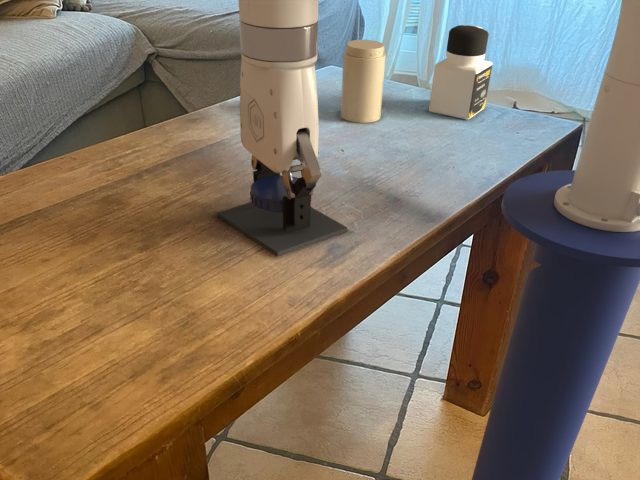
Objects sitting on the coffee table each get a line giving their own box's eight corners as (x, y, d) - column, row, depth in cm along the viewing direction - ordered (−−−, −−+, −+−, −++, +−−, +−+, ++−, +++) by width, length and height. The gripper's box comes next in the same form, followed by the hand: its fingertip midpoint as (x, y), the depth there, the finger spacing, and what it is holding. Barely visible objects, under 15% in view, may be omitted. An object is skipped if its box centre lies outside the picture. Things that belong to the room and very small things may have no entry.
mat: (347, 231, 76) (347, 227, 76) (277, 256, 71) (277, 252, 71) (284, 195, 83) (284, 191, 83) (217, 216, 78) (216, 212, 78)
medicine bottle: (468, 120, 105) (483, 35, 97) (427, 112, 108) (438, 28, 100) (484, 109, 110) (500, 26, 102) (445, 100, 113) (457, 19, 104)
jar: (388, 117, 106) (395, 45, 99) (359, 125, 102) (363, 52, 96) (362, 107, 109) (366, 36, 102) (332, 114, 106) (335, 42, 99)
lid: (240, 193, 76) (240, 181, 75) (293, 182, 79) (293, 171, 78) (266, 217, 72) (266, 205, 71) (322, 205, 74) (322, 193, 73)
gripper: (209, 25, 68) (222, 193, 81) (285, 69, 57) (287, 255, 70) (274, 19, 71) (277, 182, 83) (358, 59, 60) (348, 240, 72)
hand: (281, 214), depth 76 cm, fingers closed on lid, 6 cm apart
